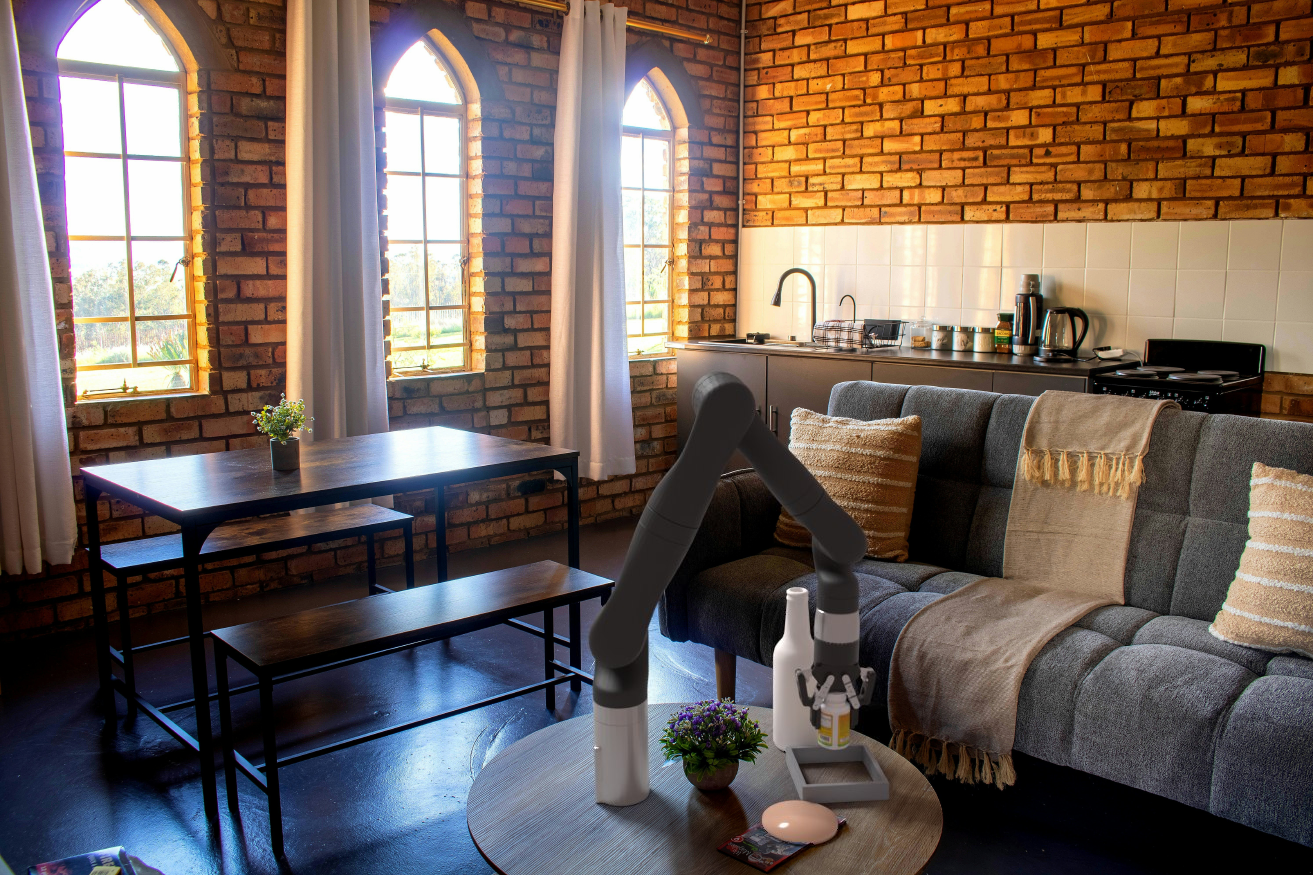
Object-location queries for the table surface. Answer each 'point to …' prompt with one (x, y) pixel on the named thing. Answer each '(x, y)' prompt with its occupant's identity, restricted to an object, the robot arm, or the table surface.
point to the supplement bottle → (834, 721)
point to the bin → (837, 791)
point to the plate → (800, 822)
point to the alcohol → (793, 676)
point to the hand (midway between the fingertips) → (833, 726)
